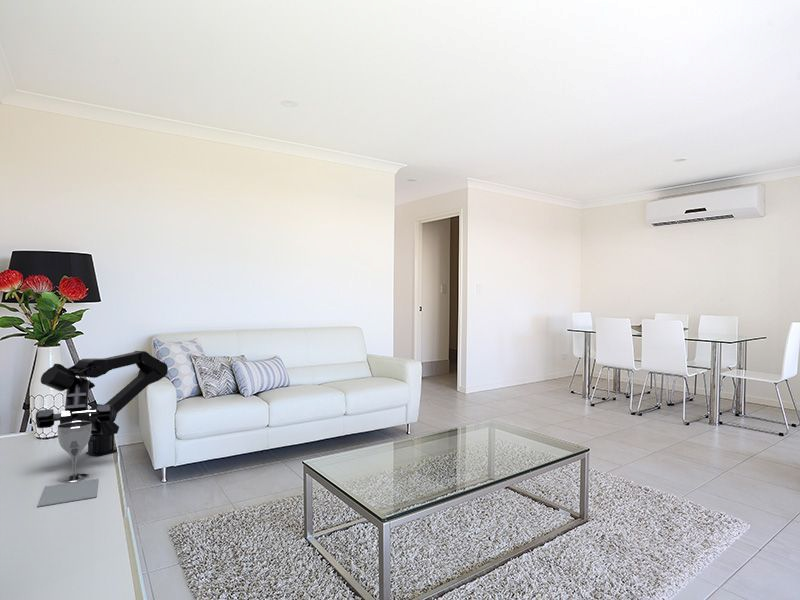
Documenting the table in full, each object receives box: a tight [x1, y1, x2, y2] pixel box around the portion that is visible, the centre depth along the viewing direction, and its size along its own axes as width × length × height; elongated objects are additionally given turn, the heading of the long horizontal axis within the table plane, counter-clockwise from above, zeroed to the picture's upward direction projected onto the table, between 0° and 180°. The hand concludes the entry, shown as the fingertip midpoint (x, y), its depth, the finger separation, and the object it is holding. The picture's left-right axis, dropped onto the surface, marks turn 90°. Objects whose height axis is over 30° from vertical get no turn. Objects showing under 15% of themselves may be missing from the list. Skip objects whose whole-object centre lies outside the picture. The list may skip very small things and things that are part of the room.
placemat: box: [36, 478, 99, 508], centre depth 124 cm, size 14×12×1 cm
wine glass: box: [57, 421, 92, 483], centre depth 134 cm, size 8×8×15 cm
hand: (73, 441), depth 138 cm, fingers closed
